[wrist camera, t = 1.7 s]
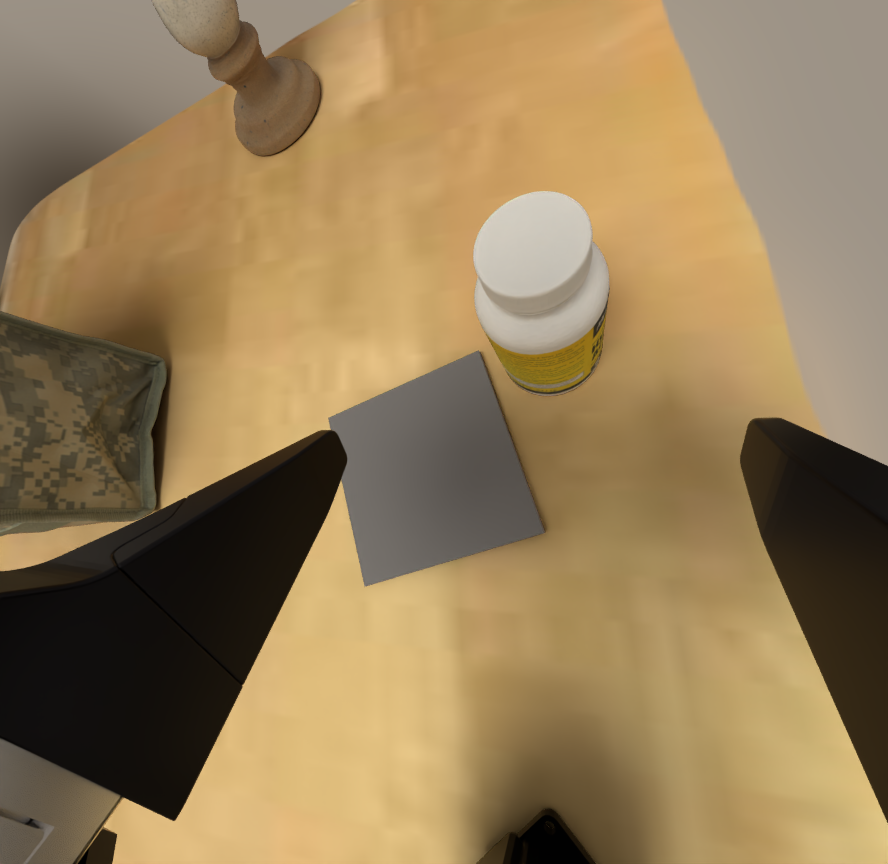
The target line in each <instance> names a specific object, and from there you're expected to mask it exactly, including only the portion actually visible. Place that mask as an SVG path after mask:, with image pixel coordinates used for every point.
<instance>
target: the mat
mask: <svg viewBox="0 0 888 864" xmlns="http://www.w3.org/2000/svg"><path fill="white" fill-rule="evenodd" d="M328 419H329V423H330V428H331V430H333V431H335V432H336V433H337V434H338V436H339V438H340V440H341V442H342V445H343V447H344V449H345V451H346V454H347V465H346V468H345V470H344V473H343V476H342V478H341V479H342V484H343V488H344V493H345V498H346V502H347V507H348V511H349V516H350V521H351V525H352V530H353V535H354V539H355V544H356V548H357V553H358V558H359V562H360V567H361V572H362V576H363V581H364V585H365V586H368V585H372V584H375V583H378V582H382V581H385V580H388V579H392V578H395V577H398V576H402V575H405V574H408V573H412V572H415V571H419V570H422V569H425V568H429V567H432V566H435V565H439V564H442V563H445V562H449V561H452V560H456V559H459V558H462V557H466V556H469V555H472V554H476V553H479V552H482V551H486V550H489V549H492V548H496V547H499V546H503V545H506V544H509V543H513V542H516V541H519V540H523V539H526V538H529V537H533V536H536V535H540V534H543V533H545V530H544V527H543V524H542V521H541V519H540V516H539V513H538V510H537V508H536V505H535V502H534V499H533V496H532V494H531V491H530V488H529V485H528V483H527V480H526V477H525V474H524V472H523V469H522V466H521V463H520V460H519V458H518V455H517V452H516V449H515V447H514V444H513V441H512V438H511V436H510V433H509V430H508V427H507V424H506V422H505V419H504V416H503V413H502V411H501V408H500V405H499V402H498V400H497V397H496V394H495V391H494V388H493V386H492V383H491V380H490V377H489V375H488V372H487V369H486V366H485V364H484V361H483V358H482V355H481V353H480V352H479V350H478V351H476V352H474V353H472V354H470V355H467V356H465V357H463V358H461V359H458V360H456V361H454V362H452V363H450V364H447V365H445V366H443V367H441V368H438V369H436V370H434V371H432V372H430V373H427V374H425V375H423V376H421V377H418V378H416V379H414V380H412V381H409V382H407V383H405V384H403V385H401V386H398V387H396V388H394V389H392V390H389V391H387V392H385V393H383V394H381V395H378V396H376V397H374V398H372V399H369V400H367V401H365V402H363V403H361V404H358V405H356V406H354V407H352V408H349V409H347V410H345V411H343V412H341V413H338V414H336V415H334V416H332V417H329V418H328Z"/></svg>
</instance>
